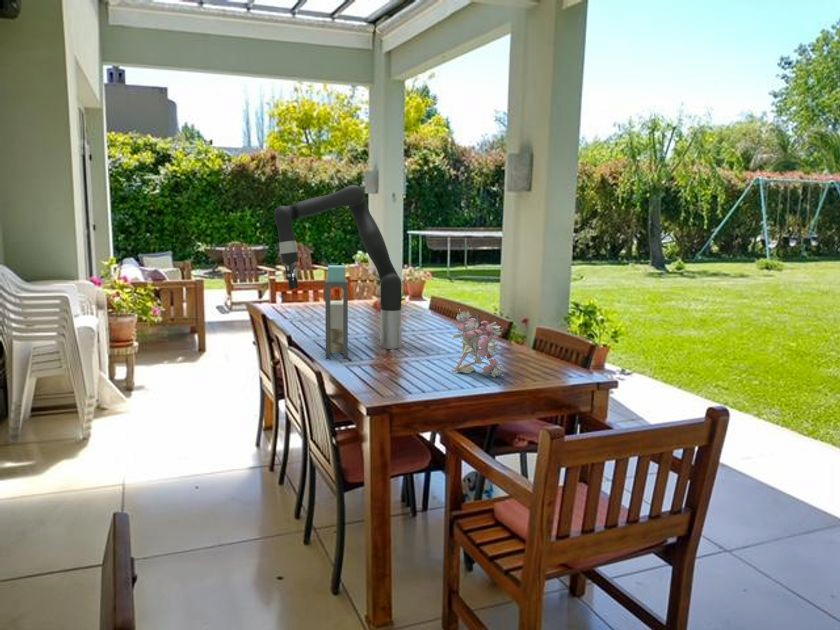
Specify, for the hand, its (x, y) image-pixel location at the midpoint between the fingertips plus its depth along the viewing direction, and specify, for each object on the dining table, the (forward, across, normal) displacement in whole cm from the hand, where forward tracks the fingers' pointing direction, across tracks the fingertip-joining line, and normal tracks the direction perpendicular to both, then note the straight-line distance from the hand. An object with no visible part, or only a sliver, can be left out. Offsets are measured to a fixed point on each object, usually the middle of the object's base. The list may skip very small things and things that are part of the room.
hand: (294, 288), depth 286 cm
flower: (+40, -41, -75) cm, 94 cm away
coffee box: (+37, +1, -74) cm, 83 cm away
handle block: (-2, -11, -21) cm, 23 cm away
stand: (+30, -14, -17) cm, 37 cm away
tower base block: (+29, 0, -15) cm, 33 cm away
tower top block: (+18, -1, -17) cm, 25 cm away
